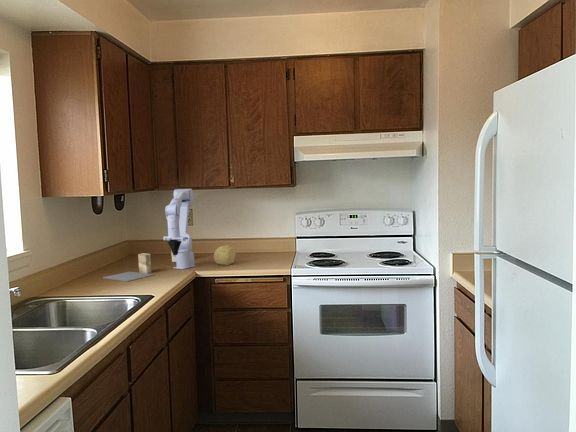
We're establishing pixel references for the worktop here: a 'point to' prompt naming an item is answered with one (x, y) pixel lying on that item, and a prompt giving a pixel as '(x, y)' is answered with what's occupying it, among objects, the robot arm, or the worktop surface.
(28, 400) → the worktop surface
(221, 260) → the beige lumpy ball
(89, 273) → the worktop surface
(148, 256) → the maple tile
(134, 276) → the mat
